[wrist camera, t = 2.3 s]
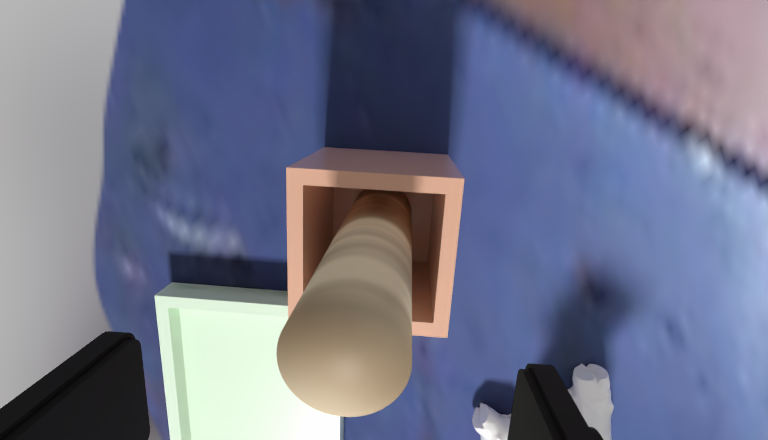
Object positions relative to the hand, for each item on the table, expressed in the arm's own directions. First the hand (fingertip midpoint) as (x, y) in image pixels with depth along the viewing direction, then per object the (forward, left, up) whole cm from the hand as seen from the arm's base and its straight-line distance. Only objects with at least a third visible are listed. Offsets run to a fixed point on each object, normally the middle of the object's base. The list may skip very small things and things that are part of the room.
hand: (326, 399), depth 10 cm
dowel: (0, 0, -16) cm, 16 cm away
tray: (+14, -8, -17) cm, 23 cm away
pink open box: (0, 0, -17) cm, 17 cm away
